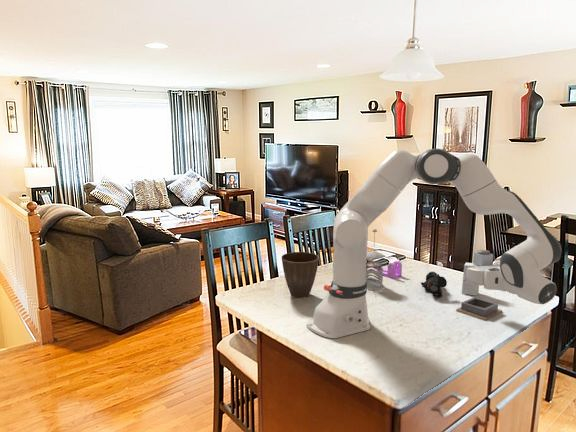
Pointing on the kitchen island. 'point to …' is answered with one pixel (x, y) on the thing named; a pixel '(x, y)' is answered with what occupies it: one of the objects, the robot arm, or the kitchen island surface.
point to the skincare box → (469, 283)
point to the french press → (372, 282)
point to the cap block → (483, 258)
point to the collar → (479, 308)
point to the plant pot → (300, 272)
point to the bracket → (393, 270)
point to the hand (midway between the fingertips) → (480, 266)
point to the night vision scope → (434, 283)
